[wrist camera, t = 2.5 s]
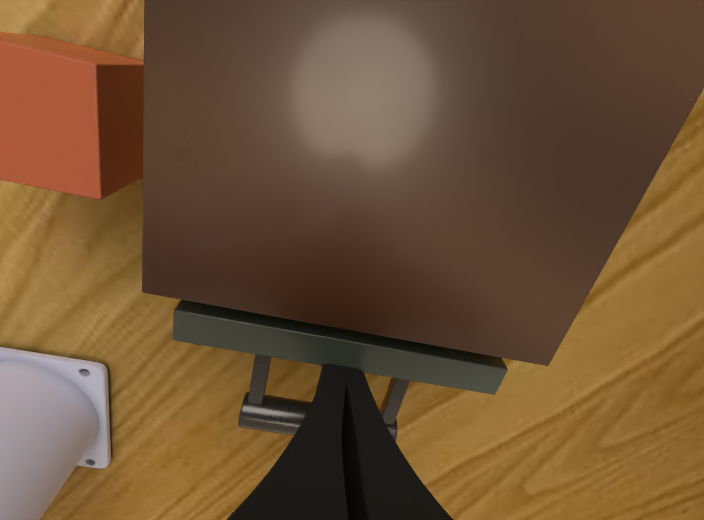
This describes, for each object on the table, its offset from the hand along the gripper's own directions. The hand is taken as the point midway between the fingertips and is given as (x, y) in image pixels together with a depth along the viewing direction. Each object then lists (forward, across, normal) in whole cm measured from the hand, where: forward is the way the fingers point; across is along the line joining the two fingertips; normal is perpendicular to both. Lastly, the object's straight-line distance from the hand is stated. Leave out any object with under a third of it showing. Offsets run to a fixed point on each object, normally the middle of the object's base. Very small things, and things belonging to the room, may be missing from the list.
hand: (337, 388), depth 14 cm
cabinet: (+7, 0, -10) cm, 12 cm away
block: (+7, +11, -6) cm, 14 cm away
